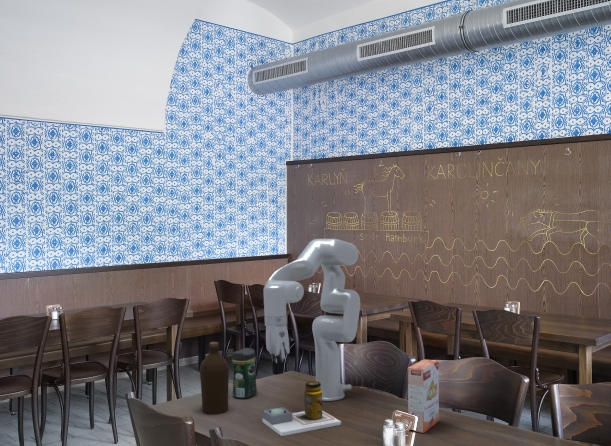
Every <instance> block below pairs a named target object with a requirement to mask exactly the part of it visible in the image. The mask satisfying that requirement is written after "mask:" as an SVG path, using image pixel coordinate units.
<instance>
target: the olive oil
mask: <svg viewBox="0 0 611 446" xmlns="http://www.w3.org/2000/svg"><path fill="white" fill-rule="evenodd" d="M208 350H209V353H208V354H207V355H206V356H205V357H204V359H203V360H202V361H201V363H200V365H199V378H200V388H201V389H200V392H201V393H200V394H201V409H202V412H203V414H208V415H219V414H222V413H226V412H227V411H228V410H229V386H230V385H229V381H230V380H229V379H230V367H229V363H228V361H227V360H226V358H225V357H223V355H222V354H220V351H219V342H218V341H211V342H209V347H208Z"/></svg>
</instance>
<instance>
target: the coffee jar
mask: <svg viewBox="0 0 611 446" xmlns="http://www.w3.org/2000/svg"><path fill="white" fill-rule="evenodd" d="M231 355H232V357H231V363H232V365H233V366H232V367H233V380H232V381H233V382H232V383H233V384H232V385H233V386H232V387H233V388H232V396H233V397H234V398H236V399H249V398H251V397H253V396H256V394H257V392H258V388H257V379H256V376H257V375H256V358H257V357H256V351H255V349H254V348H251V347H250V348H249V347H244V348H242V349H241V348H240V349H239V350H235V351H234V352H232V354H231Z"/></svg>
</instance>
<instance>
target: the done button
mask: <svg viewBox="0 0 611 446" xmlns="http://www.w3.org/2000/svg"><path fill="white" fill-rule="evenodd" d="M280 408H281V407H276V409H275V408H271V409H272V410H271V414H273V415H277V414H283V413H284V409H280Z"/></svg>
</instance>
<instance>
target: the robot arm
mask: <svg viewBox="0 0 611 446" xmlns="http://www.w3.org/2000/svg"><path fill="white" fill-rule="evenodd" d="M358 259H359V251H358V248H357V246H356V245H355V244H353V243H351V242H348V241H344V240H343V239H342V240H341V239H338V238H314V239H312V240H310V241H309V243H308V244H307V245H306V247H304V249H303V250H302V252H301V253H300V254H299V255H298V256H297V258H296V259H295V260H294V261H291V262H289V263H287V264H286V265H284V266H282V267H280V268H278V269H276V271H274V272H273V273H272V275H271V276H270V277H269V279H268V280H267V281H266V283H265V284H264V287H263V306H264V307H263V308H264V326H265V345H266V347H265V348H266V351H268V352H269V354H270V357H271V363H272V365H271V366H272V374H273V375H275V376H276V375H280V374H283V373H284V365H283V363H284V360H285V359H286V355H289V354H290V340H289V339H290V338H289V333H288V325H287V324H288V323H287V322H288V320H287V319H288V318H287V317H288V316H287V304H292V303H293V304H294V303H297V302H298V303H299V302H300V301H301V300H302V298H303V297H304V294H305V290H304V286H303V285H302V283H300V282H299V281H302V280H306V279H309V278H311V277H313V276H314V275H315V274H316V272H317V271H318V270H319V268H320V267H321V269H322V272H323V281H322V282H323V284H322V290H321V295H320V296H321V297H320V309H321V310H322V311H324V312H326V313H329V314H343V316H337V315H319V316H317V317H315V318H314V320H313V322H312V325H311V329H312V335H313V340H314V347H315V352H314V353H315V358H314V359H315V381H317V382H320V383H321V390H322V402H323V401H324V402H333V401H339V400H342V399H344V397H346V396H345V391H349V390H352V387H353V386H352V385H351V384H345V383H341V352H340V348H339V345H338V344H337V342H339V343H351V342H353V341H354V339H355V338H356V335H357V331H358V324H359V317H360V310H361V299H360V297H361V296H360V295H359V293H358V292H357V291H356V290H354V289H345V283H346V275H345V273H344V271H343V270H342V268H341V267H340V266H353V265H355V264H356V263H357V261H358Z"/></svg>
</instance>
